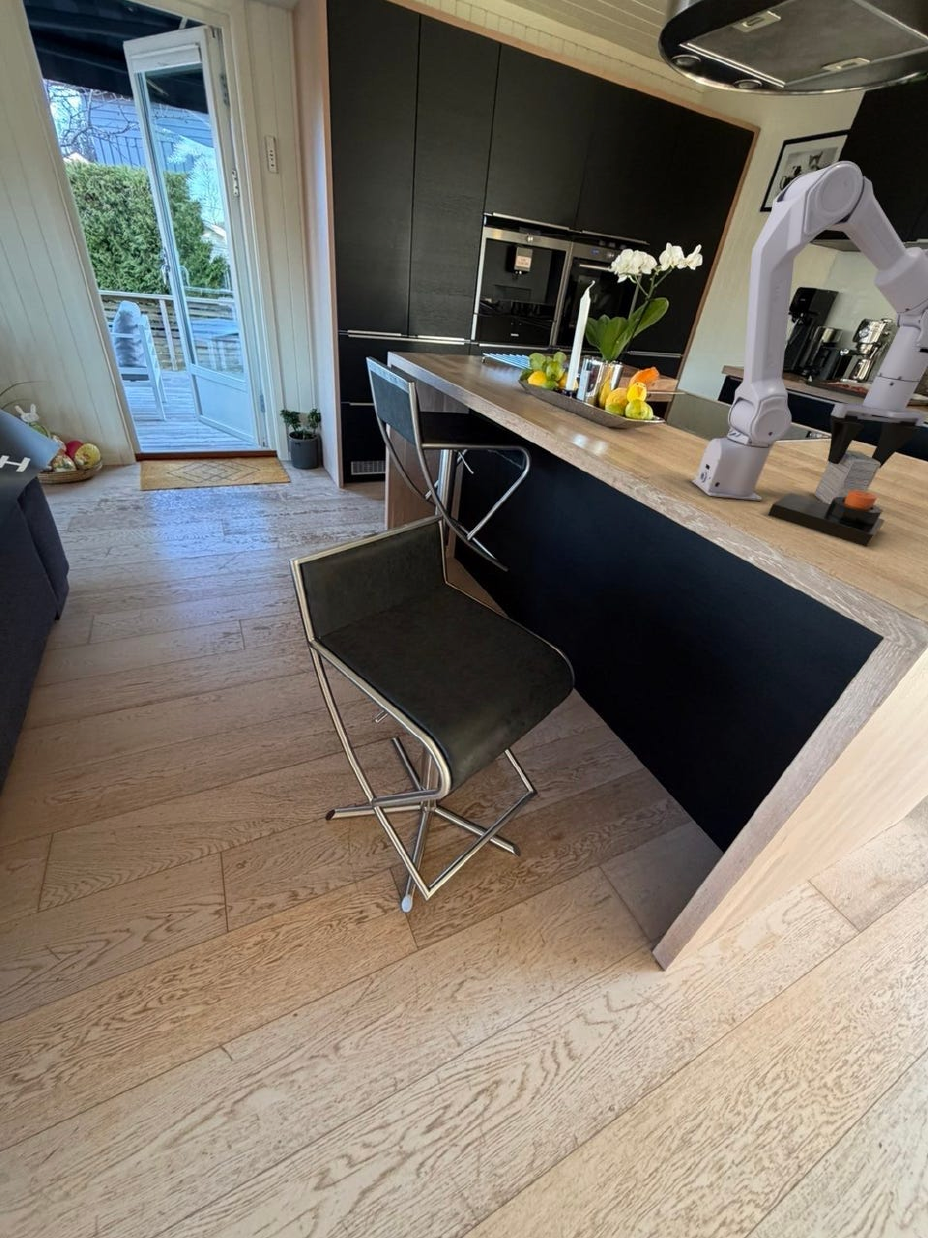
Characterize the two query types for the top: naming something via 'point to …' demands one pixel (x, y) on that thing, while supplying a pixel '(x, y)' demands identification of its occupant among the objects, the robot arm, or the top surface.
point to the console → (830, 517)
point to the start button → (860, 499)
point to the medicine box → (847, 476)
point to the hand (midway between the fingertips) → (853, 464)
